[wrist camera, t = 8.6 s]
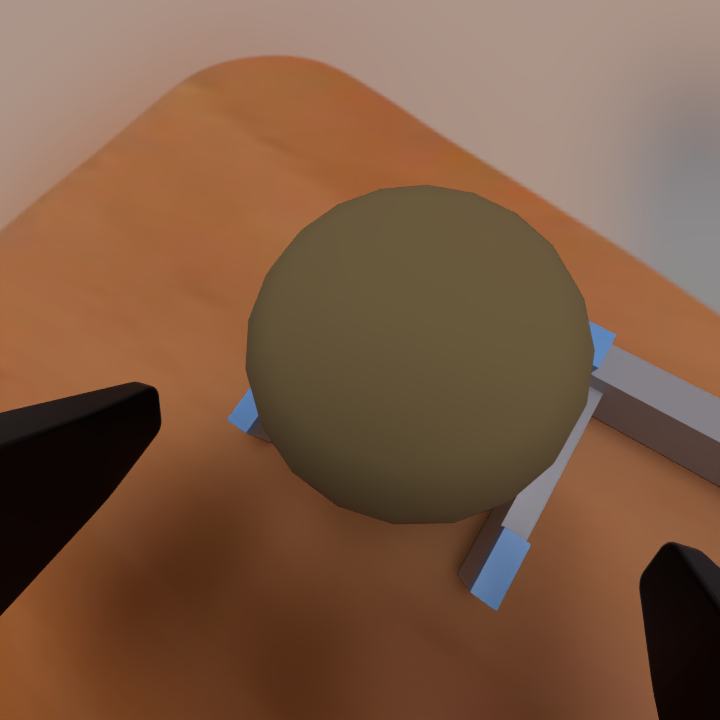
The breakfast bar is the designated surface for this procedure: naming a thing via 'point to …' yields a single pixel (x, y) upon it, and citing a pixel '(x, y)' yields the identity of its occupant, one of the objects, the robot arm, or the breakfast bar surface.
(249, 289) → the breakfast bar surface
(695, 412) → the slotted rack
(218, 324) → the breakfast bar surface
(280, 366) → the cork
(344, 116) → the breakfast bar surface
